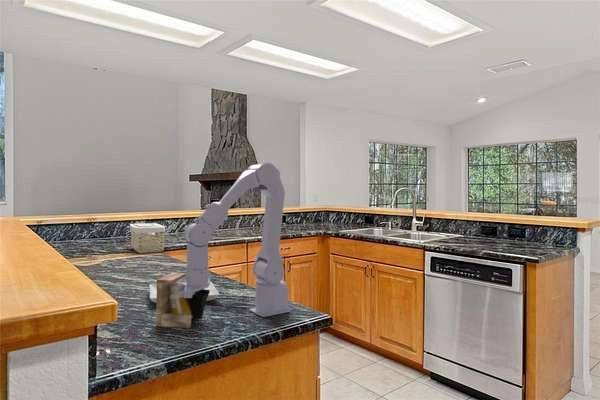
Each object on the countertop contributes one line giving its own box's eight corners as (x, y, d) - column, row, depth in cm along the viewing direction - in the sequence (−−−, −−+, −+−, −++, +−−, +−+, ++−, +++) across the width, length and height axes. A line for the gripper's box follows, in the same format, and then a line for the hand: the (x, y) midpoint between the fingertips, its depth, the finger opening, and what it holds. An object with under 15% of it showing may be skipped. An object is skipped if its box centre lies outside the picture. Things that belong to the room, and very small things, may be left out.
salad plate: (210, 288, 150) (210, 279, 150) (220, 303, 130) (220, 293, 130) (148, 292, 143) (148, 282, 143) (149, 309, 123) (149, 298, 123)
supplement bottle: (196, 314, 114) (189, 280, 114) (191, 319, 109) (184, 284, 109) (177, 318, 114) (170, 284, 114) (171, 324, 109) (164, 288, 109)
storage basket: (166, 252, 232) (166, 226, 232) (135, 253, 224) (136, 227, 223) (156, 246, 252) (157, 223, 252) (128, 248, 244) (129, 223, 244)
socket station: (202, 316, 116) (202, 273, 115) (188, 327, 106) (189, 281, 106) (172, 314, 117) (172, 272, 117) (156, 325, 107) (156, 279, 107)
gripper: (193, 262, 118) (193, 309, 119) (172, 273, 104) (172, 325, 104) (216, 263, 117) (216, 310, 118) (198, 273, 103) (198, 327, 103)
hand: (197, 317), depth 111 cm, fingers closed, pressing on supplement bottle
